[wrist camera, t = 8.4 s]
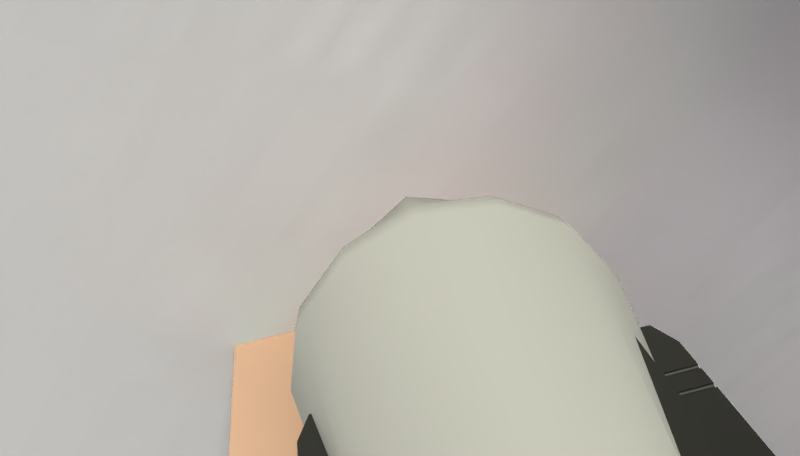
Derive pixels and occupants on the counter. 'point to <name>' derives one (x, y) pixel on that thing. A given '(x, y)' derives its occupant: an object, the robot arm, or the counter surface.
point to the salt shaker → (474, 341)
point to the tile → (264, 399)
